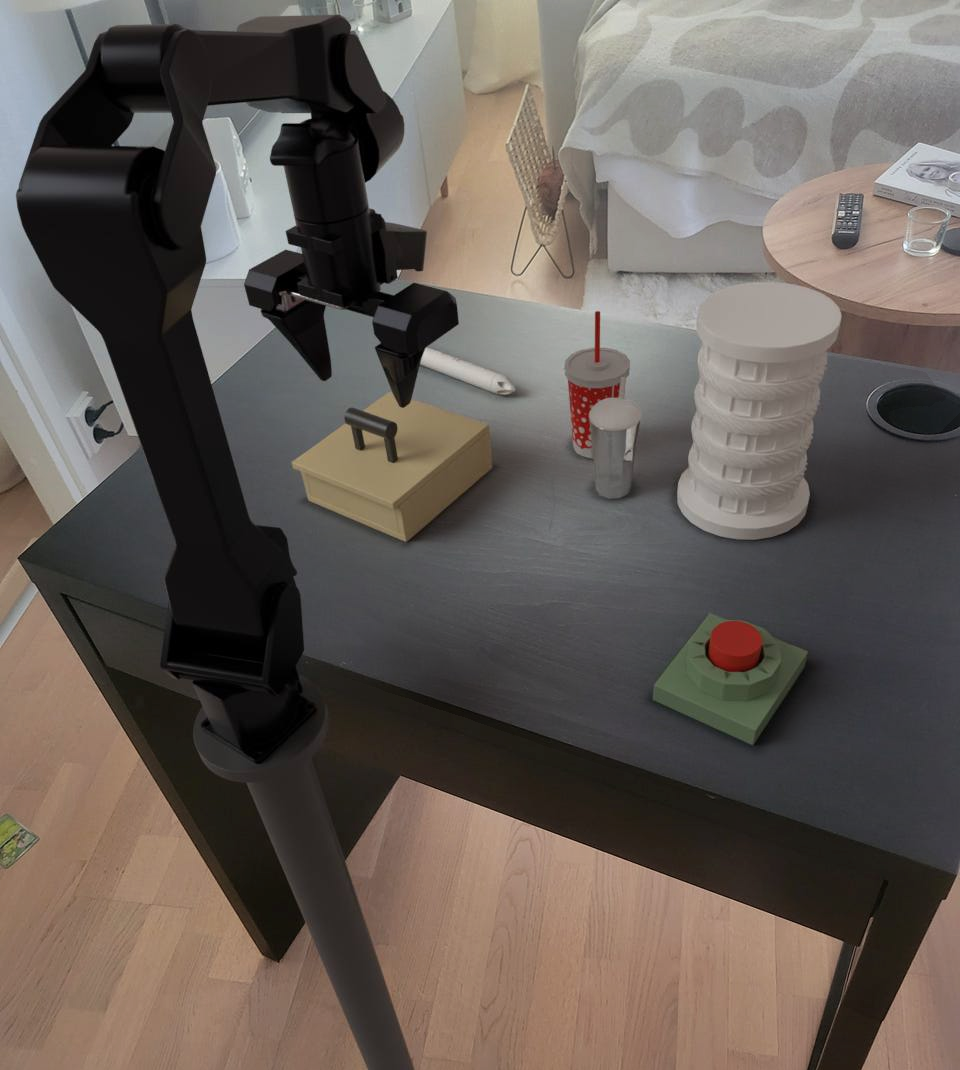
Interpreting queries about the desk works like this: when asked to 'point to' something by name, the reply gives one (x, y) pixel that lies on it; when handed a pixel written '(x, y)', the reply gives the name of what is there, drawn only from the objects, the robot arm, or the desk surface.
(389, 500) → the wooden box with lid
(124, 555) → the desk surface
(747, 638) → the release button
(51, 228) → the robot arm
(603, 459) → the milkshake
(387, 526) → the tan wooden shallow box
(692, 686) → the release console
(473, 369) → the marker
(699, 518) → the decorative container
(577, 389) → the beverage cup
